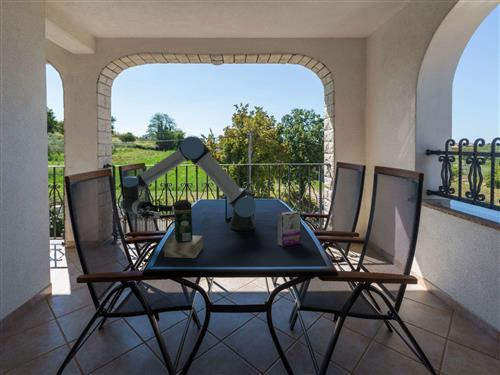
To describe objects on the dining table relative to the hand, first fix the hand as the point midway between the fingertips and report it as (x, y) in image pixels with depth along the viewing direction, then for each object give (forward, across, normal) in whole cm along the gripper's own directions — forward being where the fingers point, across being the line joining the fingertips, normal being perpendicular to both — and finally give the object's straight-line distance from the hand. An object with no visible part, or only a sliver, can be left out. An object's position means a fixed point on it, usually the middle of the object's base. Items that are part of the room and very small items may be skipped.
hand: (170, 213), depth 147 cm
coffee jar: (+9, +1, -12) cm, 15 cm away
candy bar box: (+43, -39, -18) cm, 61 cm away
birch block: (+9, 0, -17) cm, 20 cm away
